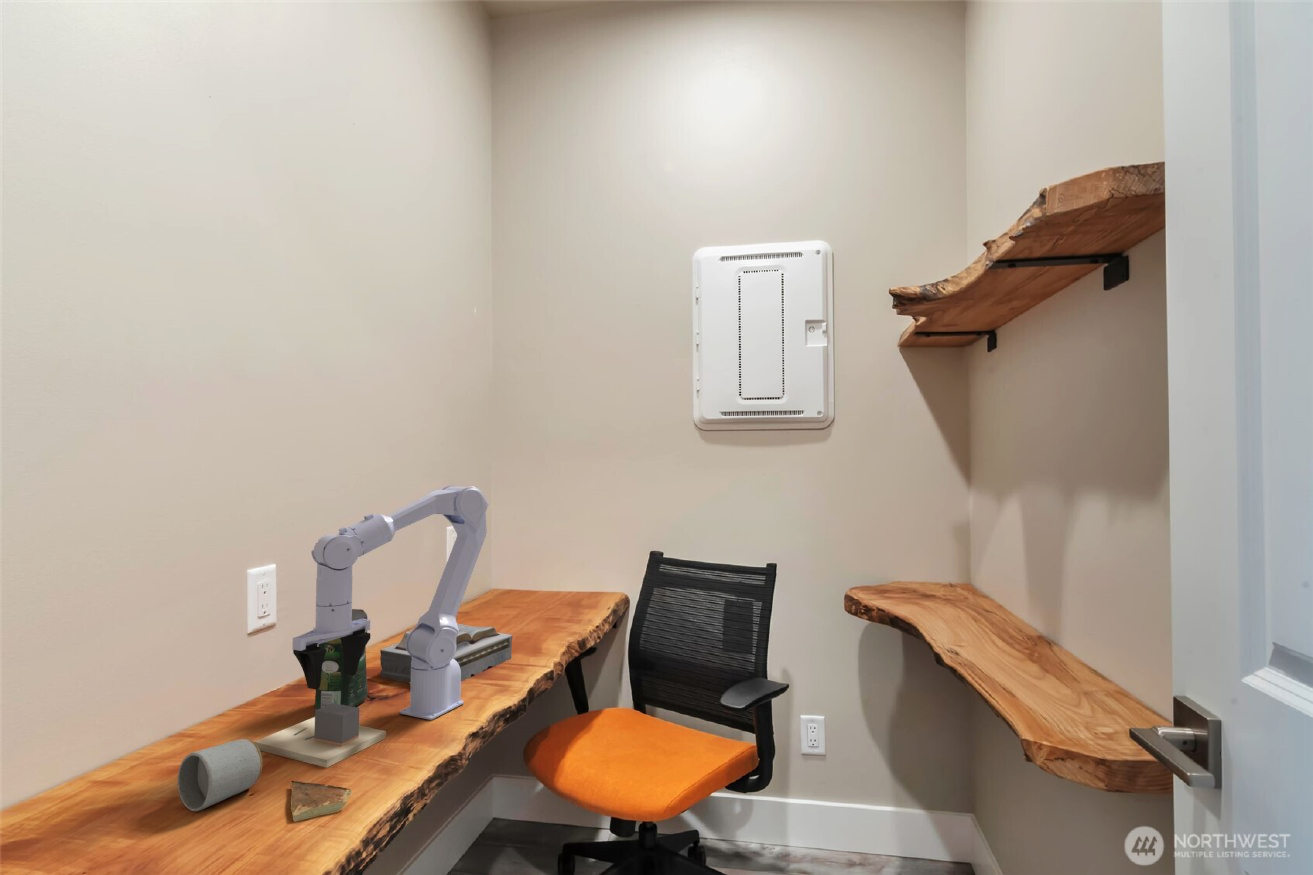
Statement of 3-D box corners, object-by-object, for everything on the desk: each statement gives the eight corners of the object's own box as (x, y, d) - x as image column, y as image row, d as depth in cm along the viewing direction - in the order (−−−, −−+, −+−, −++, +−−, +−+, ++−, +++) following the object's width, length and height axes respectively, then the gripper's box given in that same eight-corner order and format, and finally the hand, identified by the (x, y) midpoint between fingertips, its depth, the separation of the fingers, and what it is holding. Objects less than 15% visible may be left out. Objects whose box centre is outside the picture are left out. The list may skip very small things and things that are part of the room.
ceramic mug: (266, 789, 94) (267, 736, 95) (207, 817, 87) (209, 759, 87) (220, 776, 99) (221, 725, 99) (161, 801, 91) (162, 746, 92)
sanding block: (331, 732, 112) (332, 703, 112) (358, 737, 110) (359, 707, 110) (314, 740, 108) (315, 710, 108) (342, 746, 106) (343, 715, 107)
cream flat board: (316, 722, 119) (316, 715, 119) (385, 738, 112) (385, 730, 112) (253, 748, 108) (254, 741, 108) (326, 767, 101) (326, 759, 101)
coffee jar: (338, 695, 133) (340, 605, 134) (373, 698, 132) (375, 606, 132) (305, 713, 123) (308, 615, 124) (343, 716, 122) (345, 617, 123)
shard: (291, 790, 95) (291, 778, 95) (348, 778, 99) (348, 766, 99) (290, 826, 86) (290, 812, 86) (353, 811, 89) (353, 798, 89)
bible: (367, 674, 147) (368, 631, 148) (462, 647, 170) (463, 610, 170) (430, 695, 134) (431, 647, 135) (525, 663, 156) (525, 622, 157)
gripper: (350, 593, 122) (349, 666, 121) (280, 609, 108) (278, 691, 108) (379, 596, 119) (377, 670, 118) (310, 613, 105) (308, 697, 105)
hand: (332, 681), depth 113 cm, fingers open, 7 cm apart
